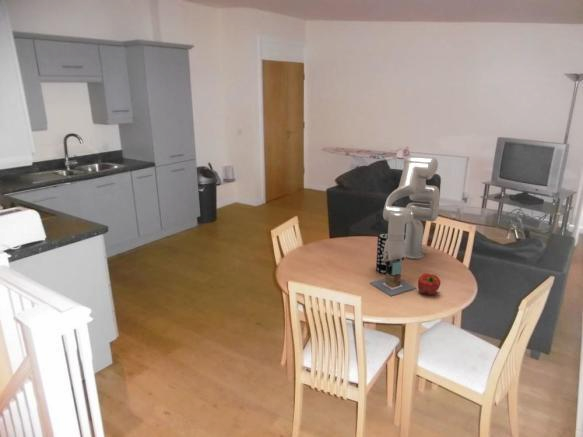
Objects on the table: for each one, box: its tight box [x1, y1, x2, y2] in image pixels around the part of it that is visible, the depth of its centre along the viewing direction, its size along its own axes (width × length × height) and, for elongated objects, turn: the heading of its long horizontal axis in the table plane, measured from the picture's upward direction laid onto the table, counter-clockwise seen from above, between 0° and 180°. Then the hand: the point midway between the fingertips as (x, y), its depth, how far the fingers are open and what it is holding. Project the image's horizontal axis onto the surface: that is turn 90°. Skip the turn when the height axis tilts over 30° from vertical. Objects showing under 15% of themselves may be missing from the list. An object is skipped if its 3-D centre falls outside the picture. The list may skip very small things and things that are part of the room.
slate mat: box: [369, 277, 417, 297], centre depth 210 cm, size 16×16×1 cm
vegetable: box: [417, 272, 442, 296], centre depth 201 cm, size 11×10×10 cm
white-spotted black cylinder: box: [375, 232, 388, 275], centre depth 225 cm, size 8×8×20 cm
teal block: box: [386, 260, 403, 275], centre depth 207 cm, size 5×5×6 cm
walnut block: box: [385, 273, 402, 288], centre depth 209 cm, size 5×5×6 cm
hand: (393, 271), depth 208 cm, fingers closed on teal block, 4 cm apart
